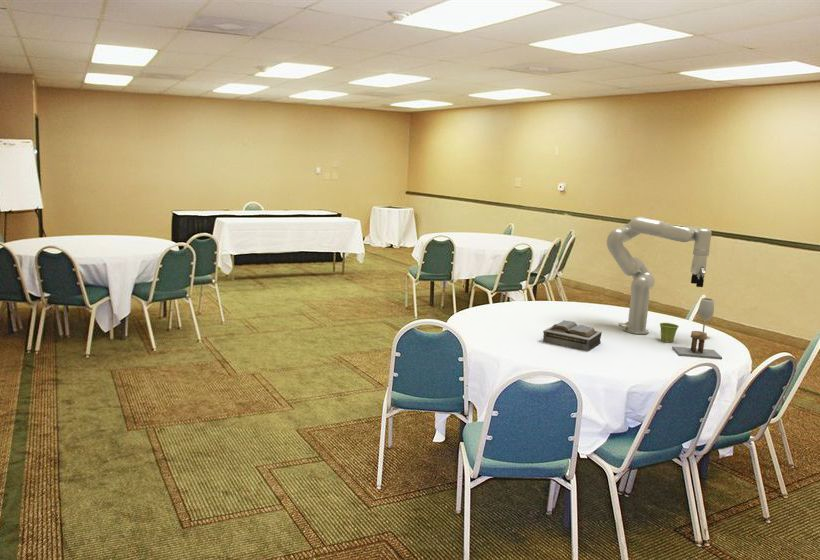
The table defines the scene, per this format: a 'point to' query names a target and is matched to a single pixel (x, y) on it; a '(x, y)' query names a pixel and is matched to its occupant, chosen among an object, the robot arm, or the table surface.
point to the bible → (572, 335)
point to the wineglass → (706, 310)
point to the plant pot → (668, 331)
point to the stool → (700, 336)
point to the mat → (687, 352)
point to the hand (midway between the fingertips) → (696, 285)
